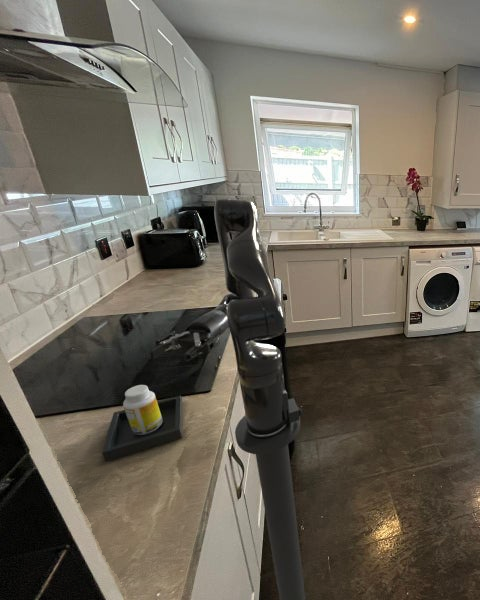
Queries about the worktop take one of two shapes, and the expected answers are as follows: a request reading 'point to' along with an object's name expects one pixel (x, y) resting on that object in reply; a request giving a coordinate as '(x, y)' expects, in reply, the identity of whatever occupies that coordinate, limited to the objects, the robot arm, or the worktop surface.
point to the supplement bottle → (142, 410)
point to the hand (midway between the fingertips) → (168, 356)
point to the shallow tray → (127, 442)
